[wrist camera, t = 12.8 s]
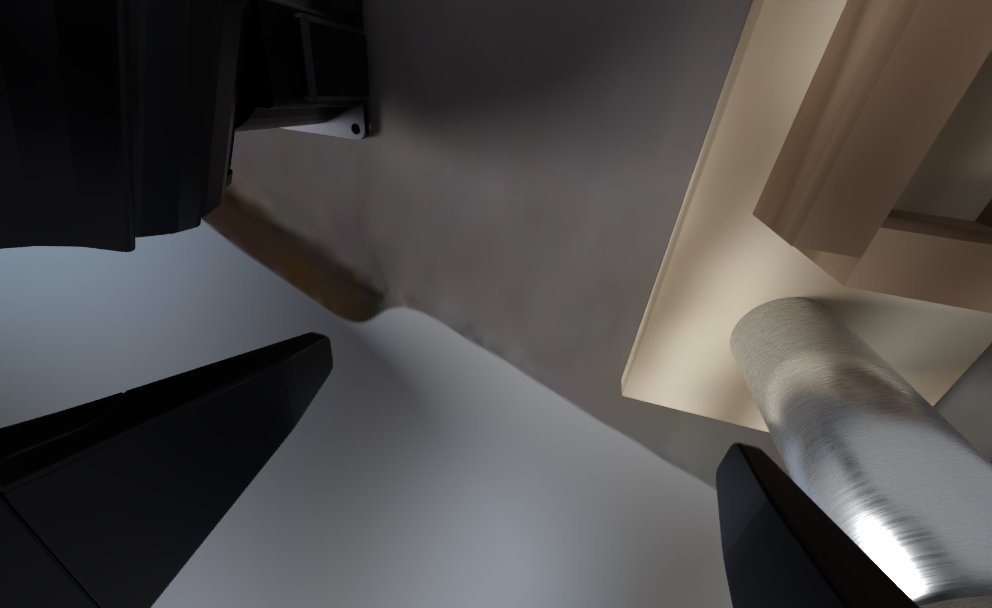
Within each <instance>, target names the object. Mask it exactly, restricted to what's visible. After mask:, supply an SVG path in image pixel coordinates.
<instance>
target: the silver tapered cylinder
mask: <svg viewBox="0 0 992 608" xmlns="http://www.w3.org/2000/svg"><path fill="white" fill-rule="evenodd" d="M730 349H731V352H732V355H733V357H734V359H735V361H736V363H737V365H738V367H739V369H740V371H741V374H742V376H743V378H744V380H745V382H746V384H747V386H748V388H749V390H750V392H751V394H752V397H753V399H754V401H755V403H756V405H757V407H758V409H759V411H760V413H761V415H762V417H763V419H764V422H765V424H766V426H767V428H768V430H769V432H770V434H771V436H772V438H773V440H774V442H775V445H776V447H777V449H778V451H779V453H780V455H781V457H782V459H783V461H784V463H785V465H786V468H787V470H788V472H789V474H790V476H791V478H792V480H793V481H794V482H795V483H796V484H797V485H798V486H799V487H800V488H801V489H802V490H803V491H804V492H805V493H806V494H807V495H808V496H809V497H810V498H811V499H812V500H813V501H814V502H815V503H816V504H817V505H818V506H819V507H820V508H821V509H822V510H823V511H824V512H825V513H826V514H827V515H828V516H829V517H830V518H831V519H832V520H833V521H834V522H835V523H836V524H837V525H838V526H839V527H840V528H841V529H842V530H843V531H844V532H845V533H846V534H847V535H848V536H849V537H850V538H851V539H852V540H853V541H854V542H855V543H856V544H857V545H858V546H859V547H860V548H861V549H862V550H863V551H864V552H865V553H866V554H867V555H868V556H869V557H870V558H871V559H872V560H873V561H874V562H875V563H876V564H877V565H878V566H879V567H880V568H881V569H882V570H883V571H884V572H885V573H886V574H887V575H888V576H889V577H890V578H891V579H892V580H893V581H894V582H895V583H896V584H897V585H898V586H899V587H900V588H901V589H902V590H903V591H904V592H905V593H906V594H907V595H908V596H909V597H910V598H911V599H912V600H913V601H914V602H915V603H916V604H917V605H918V606H919V607H920V608H992V463H991V462H990V461H989V460H988V459H987V458H986V457H985V456H984V455H983V454H982V453H981V452H980V451H979V450H977V449H976V448H975V447H974V446H973V445H972V444H971V443H970V442H969V441H968V440H967V439H966V438H965V437H964V436H963V435H962V434H961V433H960V432H959V431H958V430H957V429H956V428H955V427H954V426H953V425H951V424H950V423H949V422H948V421H947V420H946V419H945V418H944V417H943V416H942V415H941V414H940V413H939V412H938V411H937V410H936V409H935V408H934V407H933V406H932V405H931V404H930V403H929V402H928V401H927V400H925V399H924V398H923V397H922V396H921V395H920V394H919V393H918V392H917V391H916V390H915V389H914V388H913V387H912V386H911V385H910V384H909V383H908V382H907V381H906V380H905V379H904V378H903V377H902V376H901V375H899V374H898V373H897V372H896V371H895V370H894V369H893V368H892V367H891V366H890V365H889V364H888V363H887V362H886V361H885V360H884V359H883V358H882V357H881V356H880V355H879V354H878V353H877V352H876V351H875V350H873V349H872V348H871V347H870V346H869V345H868V344H867V343H866V342H865V341H864V340H863V339H862V338H861V337H860V336H859V335H858V334H857V333H856V332H855V331H854V330H853V329H852V328H851V327H850V326H848V325H847V324H846V323H845V322H844V321H843V320H842V319H841V318H840V317H839V316H838V315H837V314H836V313H835V312H834V311H833V310H832V309H830V308H829V307H828V306H826V305H824V304H822V303H820V302H818V301H815V300H811V299H807V298H794V297H792V298H782V299H776V300H773V301H769V302H766V303H764V304H761V305H759V306H757V307H755V308H754V309H752V310H751V311H749V312H748V313H747V314H745V315H744V316H743V317H742V318H741V319H740V320H739V321H738V323H737V324H736V326H735V327H734V329H733V331H732V334H731V338H730Z"/></svg>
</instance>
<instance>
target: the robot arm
mask: <svg viewBox="0 0 992 608" xmlns="http://www.w3.org/2000/svg"><path fill="white" fill-rule="evenodd" d="M368 96H369V83H368V65H367V46H366V36H365V34H364V33H363V15H362V0H0V249H3V248H14V247H28V246H76V247H77V246H78V247H89V248H98V249H105V250H114V251H121V252H130V251H133V250H134V249H135V237H148V236H156V235H166V234H174V233H177V232H181V231H184V230H188V229H192V228H195V227H198V226H199V225H200V223H201V217H204V216H206V215H207V214H209V213H210V212H211V211H213V210H214V209H215V208H217V207H218V206H219V205H221V202H222V199H223V196H224V193H225V188H226V187H227V186H228V185H230V184H231V181H232V173H233V171H232V170H231V169H230V166H231V158H232V150H233V142H234V134H235V132H237V131H248V130H259V129H270V128H285V129H291V130H297V131H304V132H310V133H317V134H323V135H330V136H336V137H343V138H349V139H355V140H359V139H364V138H366V137H367V136H368V134H369V122H368V104H367V98H368ZM357 124H358V125H359V127H360V133H358V132H357V131H356V125H357ZM332 368H333V357H332V350H331V342H330V339H329V338H328V337H327V336H326V335H322V334H318V333H314V332H311V333H307V334H303V335H300V336H297V337H294V338H291V339H288V340H284V341H281V342H278V343H275V344H272V345H269V346H266V347H263V348H259V349H256V350H253V351H250V352H247V353H244V354H241V355H237V356H234V357H231V358H228V359H225V360H222V361H218V362H215V363H212V364H209V365H206V366H203V367H200V368H196V369H194V370H190V371H187V372H184V373H181V374H177V375H175V376H171V377H168V378H165V379H162V380H159V381H155V382H152V383H149V384H146V385H143V386H140V387H137V388H133V389H131V390H127V391H126V392H125V393H118V394H114V395H111V396H108V397H105V398H102V399H99V400H96V401H92V402H89V403H86V404H83V405H79V406H76V407H73V408H69V409H66V410H63V411H60V412H57V413H52V414H49V415H45V416H42V417H38V418H35V419H31V420H28V421H24V422H20V423H17V424H13V425H10V426H6V427H2V428H0V608H151V607H152V605H153V604H154V603H155V602H156V600H157V599H158V598H159V597H160V595H161V594H162V593H163V592H164V590H165V589H166V588H167V586H168V585H169V584H170V583H171V582H172V580H173V579H174V578H175V577H176V575H177V574H178V573H179V571H180V570H181V569H182V568H183V567H184V565H185V564H186V563H187V562H188V560H189V559H190V558H191V557H192V555H193V554H194V553H195V552H196V550H197V549H198V548H199V546H200V545H201V544H202V543H203V541H204V540H205V539H206V538H207V537H208V535H209V534H210V533H211V531H212V530H213V529H214V528H215V527H216V525H217V524H218V523H219V521H220V520H221V519H222V518H223V517H224V515H225V514H226V513H227V512H228V510H229V509H230V508H231V507H232V505H233V504H234V503H235V502H236V500H237V499H238V498H239V497H240V495H241V494H242V493H243V492H244V490H245V489H246V488H247V487H248V485H249V484H250V483H251V482H252V480H253V479H254V478H255V477H256V475H257V474H258V473H259V472H260V470H261V469H262V468H263V467H264V465H265V464H266V463H267V461H268V460H269V459H270V458H271V457H272V456H273V454H274V453H275V452H276V450H277V449H278V448H279V447H280V446H281V444H282V443H283V442H284V441H285V439H286V438H287V437H288V435H289V434H290V433H291V432H292V430H293V429H294V428H295V426H296V425H297V423H298V422H299V421H300V419H301V418H302V416H303V415H304V413H305V411H306V410H307V409H308V407H309V405H310V404H311V402H312V401H313V399H314V398H315V396H316V395H317V393H318V392H319V390H320V389H321V387H322V385H323V384H324V382H325V381H326V379H327V378H328V376H329V375H330V373H331V371H332ZM716 486H717V498H718V509H719V520H720V531H721V543H722V551H723V559H724V565H725V570H726V576H727V580H728V586H729V591H730V595H731V600H732V605H733V608H920V607H919V606H918V605H917V604H916V603H915V602H914V601H913V600H912V599H911V598H910V597H909V596H908V595H907V594H906V593H905V592H904V591H903V590H902V589H901V588H900V587H899V586H898V585H897V584H896V583H895V582H894V581H893V580H892V579H891V578H890V577H889V576H888V575H887V574H886V573H885V572H884V571H883V570H882V569H881V568H880V567H879V566H878V565H877V564H876V563H875V562H874V561H873V560H872V559H871V558H870V557H869V556H868V555H867V554H866V553H865V552H864V551H863V550H862V549H861V548H860V547H859V546H858V545H857V544H856V543H855V542H854V541H853V540H852V539H851V538H850V537H849V536H848V535H847V534H846V533H845V532H844V531H843V530H842V529H841V528H840V527H839V526H838V525H837V524H836V523H835V522H834V521H833V520H832V519H831V518H830V517H829V516H828V515H827V514H826V513H825V512H824V511H823V510H822V509H821V508H820V507H819V506H818V505H817V504H816V503H815V502H814V501H813V500H812V499H811V498H810V497H809V496H808V495H807V494H806V493H805V492H804V491H803V490H802V489H801V488H800V487H799V486H798V485H797V484H796V483H795V482H794V481H793V480H792V479H791V478H790V477H789V476H788V475H787V474H786V473H785V472H784V471H783V470H782V469H781V468H780V467H779V466H778V465H777V464H776V463H775V462H774V461H773V460H772V459H771V458H770V457H769V456H768V455H767V454H766V453H765V452H764V451H763V450H761V449H760V448H759V447H757V446H753V445H749V444H746V443H742V442H735V443H733V444H732V445H731V447H730V448H729V450H728V452H727V453H726V455H725V457H724V458H723V460H722V462H721V463H720V465H719V467H718V469H717V472H716Z"/></svg>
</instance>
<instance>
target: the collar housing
mask: <svg viewBox="0 0 992 608" xmlns="http://www.w3.org/2000/svg"><path fill="white" fill-rule="evenodd" d="M792 297H794V298H807V299H811V300H815V301H818V302H820V303H822V304H824V305H826V306H828V307H829V308H830V309H832V310H833V311H834V312H835V313H836V314H837V315H838V316H839V317H840V318H841V319H842V320H843V321H844V322H845V323H846V324H847V325H848V326H850V327H851V328H852V329H853V330H854V331H855V332H856V333H857V334H858V335H859V336H860V337H861V338H862V339H863V340H864V341H865V342H866V343H867V344H868V345H869V346H870V347H871V348H872V349H873V350H875V351H876V352H877V353H878V354H879V355H880V356H881V357H882V358H883V359H884V360H885V361H886V362H887V363H888V364H889V365H890V366H891V367H892V368H893V369H894V370H895V371H896V372H897V373H898V374H899V375H901V376H902V377H903V378H904V379H905V380H906V381H907V382H908V383H909V384H910V385H911V386H912V387H913V388H914V389H915V390H916V391H917V392H918V393H919V394H920V395H921V396H922V397H923V398H924V399H925V400H927V401H928V402H929V403H930V404H931V405H932V406H934V405H935V404H936V403H937V402H938V401H939V399H940V398H941V397H942V396H943V395H944V394H945V393H946V392H947V391H948V390H949V389H950V387H951V386H952V385H953V384H954V383H955V382H956V381H957V380H958V379H959V378H960V377H961V376H962V374H963V373H964V372H965V371H966V370H967V369H968V368H969V367H970V366H971V365H972V364H973V362H974V361H975V360H976V359H977V358H978V357H979V356H980V355H981V354H982V353H983V352H984V351H985V349H986V348H987V347H988V346H989V345H990V344H991V343H992V0H753V3H752V6H751V9H750V11H749V14H748V17H747V20H746V23H745V26H744V29H743V32H742V34H741V37H740V40H739V43H738V46H737V49H736V52H735V54H734V57H733V60H732V63H731V66H730V69H729V72H728V75H727V77H726V80H725V83H724V86H723V89H722V92H721V95H720V98H719V100H718V103H717V106H716V109H715V112H714V115H713V118H712V121H711V123H710V126H709V129H708V132H707V135H706V138H705V141H704V143H703V146H702V149H701V152H700V155H699V158H698V161H697V164H696V166H695V169H694V172H693V175H692V178H691V181H690V184H689V187H688V189H687V192H686V195H685V198H684V201H683V204H682V207H681V210H680V212H679V215H678V218H677V221H676V224H675V227H674V230H673V232H672V235H671V238H670V241H669V244H668V247H667V250H666V253H665V255H664V258H663V261H662V264H661V267H660V270H659V273H658V276H657V278H656V281H655V284H654V287H653V290H652V293H651V296H650V299H649V301H648V304H647V307H646V310H645V313H644V316H643V319H642V321H641V324H640V327H639V330H638V333H637V336H636V339H635V342H634V344H633V347H632V350H631V353H630V356H629V359H628V362H627V365H626V367H625V370H624V373H623V376H622V379H621V380H622V396H625V397H629V398H633V399H637V400H641V401H645V402H649V403H653V404H657V405H661V406H666V407H670V408H674V409H678V410H682V411H686V412H690V413H694V414H698V415H702V416H706V417H710V418H714V419H718V420H722V421H726V422H730V423H734V424H738V425H742V426H746V427H750V428H754V429H758V430H762V431H766V432H769V430H768V428H767V426H766V424H765V422H764V419H763V417H762V415H761V413H760V411H759V409H758V407H757V405H756V403H755V401H754V399H753V397H752V394H751V392H750V390H749V388H748V386H747V384H746V382H745V380H744V378H743V376H742V374H741V371H740V369H739V367H738V365H737V363H736V361H735V359H734V357H733V355H732V352H731V349H730V338H731V334H732V331H733V329H734V327H735V326H736V324H737V323H738V321H739V320H740V319H741V318H742V317H743V316H744V315H745V314H747V313H748V312H749V311H751V310H752V309H754V308H755V307H757V306H759V305H761V304H764V303H766V302H769V301H773V300H776V299H782V298H792Z"/></svg>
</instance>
